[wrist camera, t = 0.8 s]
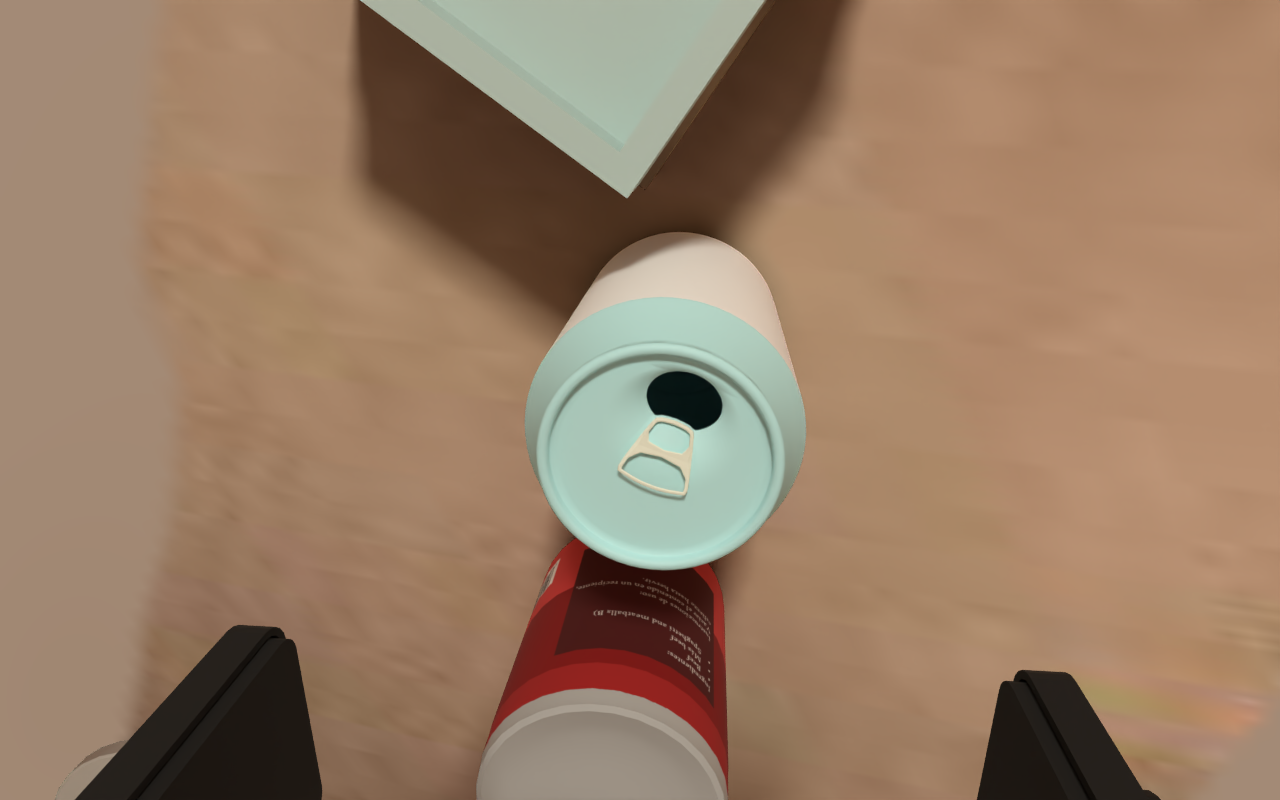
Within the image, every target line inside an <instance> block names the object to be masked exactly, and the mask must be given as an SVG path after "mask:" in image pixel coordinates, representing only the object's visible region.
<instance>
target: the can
mask: <svg viewBox="0 0 1280 800" xmlns="http://www.w3.org/2000/svg"><path fill="white" fill-rule="evenodd" d="M525 436H526V443H527V449H528V453H529V457H530V461H531V464H532V467H533V470H534V472H535V475H536V477H537V479H538V481H539V483H540V485H541V487H542V489H543V492H544V494H545V497H546V499H547V501H548V503H549V505H550V506H551V508H552V510H553V511H554V513H555V514H556V516H557V517H558V519H559V520H560V521H561V523H562V524H563V525H564V526H565V527H566V528H567V529H568V530H569V531H570V532H571V533H572V534H573V535H574V536H575V537H576V538H577V539H578V540H580V541H581V542H582V543H584V544H585V545H586V546H588V547H589V548H591V549H592V550H594V551H595V552H597V553H599V554H601V555H603V556H605V557H607V558H609V559H612V560H614V561H616V562H619V563H623V564H626V565H629V566H633V567H638V568H644V569H650V570H678V569H686V568H691V567H696V566H700V565H703V564H707V563H710V562H712V561H715V560H717V559H719V558H721V557H723V556H725V555H727V554H729V553H731V552H732V551H734V550H736V549H737V548H739V547H740V546H741V545H743V544H744V543H745V542H747V541H748V540H749V539H750V538H751V537H752V536H753V535H754V534H755V533H756V532H757V531H758V530H759V529H760V528H761V526H762V525H763V524H764V523H765V521H766V520H767V519H769V518H770V517H771V515H772V514H773V513H774V512H775V511H776V510H777V509H778V507H779V506H780V505H781V503H782V502H783V501H784V499H785V498H786V496H787V494H788V493H789V491H790V489H791V487H792V486H793V483H794V481H795V479H796V477H797V474H798V472H799V469H800V466H801V463H802V459H803V454H804V449H805V441H806V419H805V411H804V406H803V401H802V397H801V393H800V390H799V387H798V383H797V380H796V376H795V373H794V369H793V366H792V362H791V359H790V355H789V352H788V348H787V345H786V342H785V338H784V335H783V331H782V328H781V324H780V321H779V317H778V314H777V310H776V307H775V303H774V300H773V297H772V294H771V292H770V290H769V287H768V285H767V283H766V282H765V280H764V278H763V277H762V275H761V274H760V272H759V271H758V270H757V268H756V267H755V266H754V265H753V264H752V263H751V262H750V261H749V260H748V259H747V258H746V257H745V256H744V255H743V254H741V253H740V252H739V251H737V250H736V249H734V248H733V247H731V246H729V245H728V244H726V243H724V242H722V241H720V240H717V239H715V238H712V237H709V236H705V235H701V234H696V233H688V232H671V233H663V234H657V235H654V236H650V237H647V238H644V239H642V240H639V241H637V242H635V243H633V244H631V245H629V246H628V247H626V248H625V249H623V250H621V251H620V252H619V253H618V254H616V255H615V256H614V257H613V258H612V259H611V260H610V261H609V262H608V263H607V264H606V265H605V266H604V267H603V269H602V270H601V271H600V273H599V274H598V276H597V277H596V279H595V280H594V282H593V283H592V285H591V286H590V288H589V289H588V291H587V293H586V294H585V296H584V297H583V299H582V300H581V302H580V303H579V305H578V307H577V308H576V310H575V311H574V313H573V314H572V316H571V317H570V319H569V320H568V322H567V324H566V325H565V327H564V328H563V330H562V331H561V333H560V334H559V336H558V338H557V339H556V341H555V342H554V344H553V345H552V347H551V348H550V350H549V352H548V353H547V355H546V356H545V358H544V359H543V361H542V363H541V364H540V366H539V368H538V370H537V372H536V374H535V377H534V379H533V382H532V384H531V387H530V391H529V394H528V398H527V404H526V411H525Z"/></svg>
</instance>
